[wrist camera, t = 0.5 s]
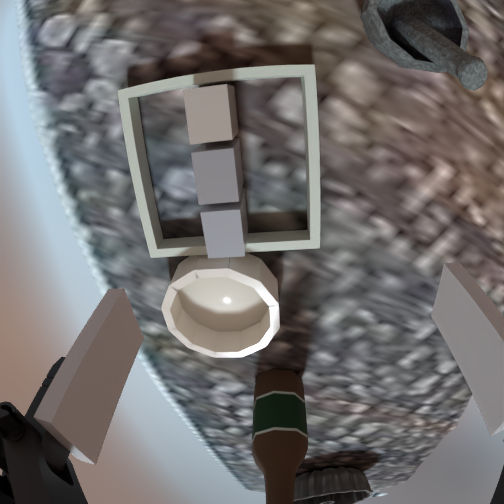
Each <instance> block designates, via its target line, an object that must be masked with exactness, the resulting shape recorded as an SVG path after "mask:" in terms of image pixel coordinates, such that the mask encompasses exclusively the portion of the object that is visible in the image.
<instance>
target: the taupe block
mask: <svg viewBox="0 0 504 504" xmlns="http://www.w3.org/2000/svg"><path fill="white" fill-rule="evenodd" d="M183 92H184V100H185V108H186V117H187V124H188V132H189V140H190V144H198V143H206V142H215V141H225V140H233V138H234V137H235V136H236V134H237V133H238V131H239V130H238V120H237V110H236V99H235V89H234V86H231V85H228V84H223V85H215V86H208V87H201V88H194V89H188V90H183Z"/></svg>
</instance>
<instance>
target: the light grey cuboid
mask: <svg viewBox="0 0 504 504" xmlns="http://www.w3.org/2000/svg"><path fill="white" fill-rule="evenodd" d="M200 214H201V220H202V226H203V232H204V238H205V244H206V249H207V255H208V258H224V257H242V256H245V253H246V245H247V236H248V220H247V210H246V200H245V190H244V188H242V191H241V195H240V200H239V202H227V203H215V204H204V206H203V208H202V210H201V212H200Z"/></svg>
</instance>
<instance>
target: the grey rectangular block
mask: <svg viewBox="0 0 504 504" xmlns="http://www.w3.org/2000/svg"><path fill="white" fill-rule="evenodd" d="M191 155H192V162H193V169H194V176H195V183H196V189H197V196H198V202H199V205H203V204H215V203H227V202H239V200H240V195H241V191H242V187H243V182H244V180H243V170H242V160H241V150H240V140H239V138H234V139H233V140H225V141H215V142H206V143H203V144H201V145H200V146H199V147H198V148H196V149H195V150H194V151H193V152H192V153H191Z"/></svg>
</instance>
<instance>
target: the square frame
mask: <svg viewBox="0 0 504 504" xmlns="http://www.w3.org/2000/svg"><path fill="white" fill-rule="evenodd" d="M281 77H301V85H302V99H303V115H304V133H305V155H306V184H307V230H295V231H277V232H260V233H248V236H247V245H246V252H261V251H278V250H296V249H314V248H320V153H319V126H318V106H317V90H316V76H315V65H276V66H259V67H247V68H236V69H227V70H219V71H211V72H204V73H198V74H191V75H185V76H180V77H174V78H169V79H164V80H160V81H155V82H150V83H146V84H142V85H138V86H134V87H130V88H126V89H122V90H118V97H119V105H120V112H121V118H122V125H123V131H124V137H125V143H126V149H127V154H128V160H129V165H130V170H131V175H132V180H133V185H134V190H135V194H136V199H137V203H138V208H139V212H140V217H141V221H142V225H143V229H144V233H145V237H146V241H147V245H148V249H149V252H150V256H151V258H156V257H173V256H191V255H207V249H206V244H205V238H204V236H198V237H184V238H170V239H163V235H162V230H161V226H160V221H159V217H158V212H157V207H156V203H155V198H154V193H153V188H152V182H151V177H150V172H149V166H148V161H147V155H146V149H145V143H144V137H143V131H142V124H141V117H140V110H139V103H138V97H141V96H145V95H150V94H154V93H159V92H164V91H169V90H175V89H180V88H186V87H192V86H199V85H205V84H213V83H221V82H229V81H239V80H250V79H263V78H281Z"/></svg>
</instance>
